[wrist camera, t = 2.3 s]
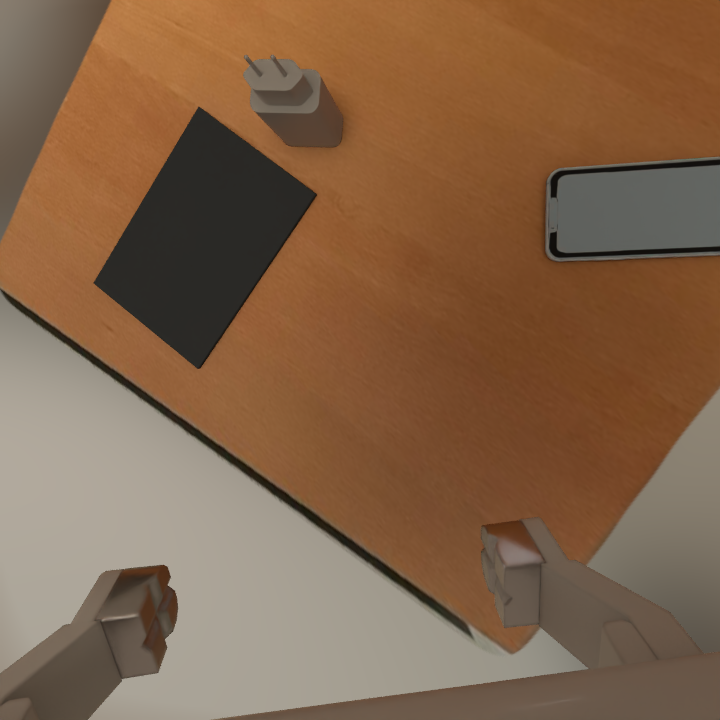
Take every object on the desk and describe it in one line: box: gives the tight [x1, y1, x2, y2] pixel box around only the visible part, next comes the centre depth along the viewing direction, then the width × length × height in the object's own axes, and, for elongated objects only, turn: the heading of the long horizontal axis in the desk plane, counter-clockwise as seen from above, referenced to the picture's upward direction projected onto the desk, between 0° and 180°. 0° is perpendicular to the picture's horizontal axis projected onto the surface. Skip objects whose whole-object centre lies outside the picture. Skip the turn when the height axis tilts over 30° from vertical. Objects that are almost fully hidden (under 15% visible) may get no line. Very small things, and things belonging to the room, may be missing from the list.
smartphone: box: [545, 157, 720, 262], centre depth 38 cm, size 7×1×15 cm
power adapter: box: [243, 55, 343, 147], centre depth 37 cm, size 3×5×12 cm, turn 85°
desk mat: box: [94, 107, 317, 369], centre depth 46 cm, size 20×14×1 cm
